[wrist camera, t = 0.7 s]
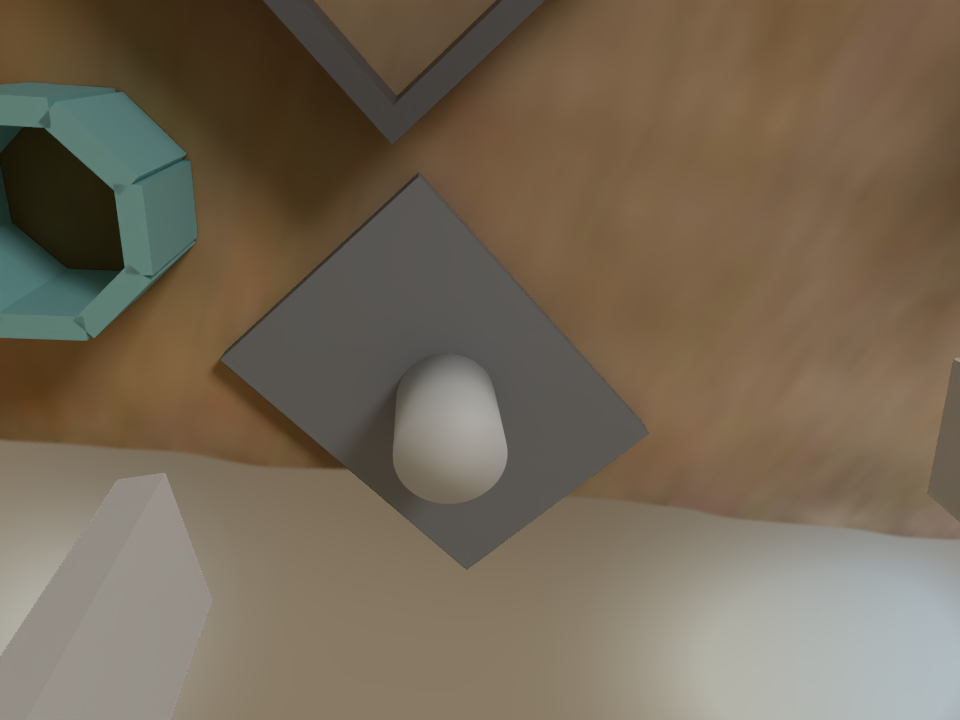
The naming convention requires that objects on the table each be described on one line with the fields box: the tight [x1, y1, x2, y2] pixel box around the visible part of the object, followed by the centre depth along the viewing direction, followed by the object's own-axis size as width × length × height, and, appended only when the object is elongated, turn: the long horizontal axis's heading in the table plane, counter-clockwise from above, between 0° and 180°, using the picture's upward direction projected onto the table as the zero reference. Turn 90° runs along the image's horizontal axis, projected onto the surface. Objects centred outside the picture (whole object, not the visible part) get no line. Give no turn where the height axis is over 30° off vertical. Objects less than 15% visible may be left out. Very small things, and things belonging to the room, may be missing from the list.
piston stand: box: [220, 173, 649, 569], centre depth 33 cm, size 18×13×6 cm
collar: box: [0, 82, 198, 341], centre depth 28 cm, size 9×9×6 cm
